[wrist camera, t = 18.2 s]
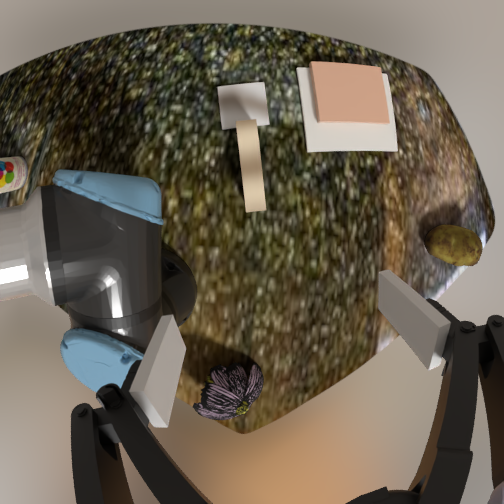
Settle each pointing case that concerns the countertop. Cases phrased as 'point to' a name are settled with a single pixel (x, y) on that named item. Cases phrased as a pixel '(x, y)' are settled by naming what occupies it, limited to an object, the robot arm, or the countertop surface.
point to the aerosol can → (12, 173)
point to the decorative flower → (229, 391)
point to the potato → (454, 245)
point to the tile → (348, 93)
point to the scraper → (247, 134)
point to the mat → (343, 125)
